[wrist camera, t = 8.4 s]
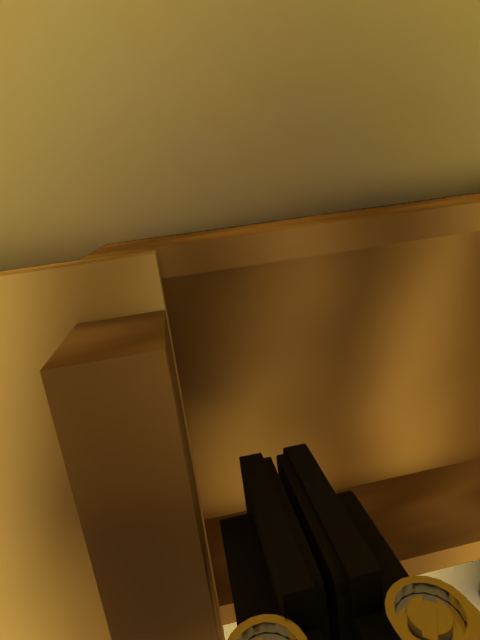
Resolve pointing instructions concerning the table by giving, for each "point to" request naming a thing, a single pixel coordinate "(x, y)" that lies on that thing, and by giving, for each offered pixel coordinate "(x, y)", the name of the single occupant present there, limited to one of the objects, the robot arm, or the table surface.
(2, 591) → the lid
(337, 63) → the table surface
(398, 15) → the table surface
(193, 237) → the brown shallow rectangular box
